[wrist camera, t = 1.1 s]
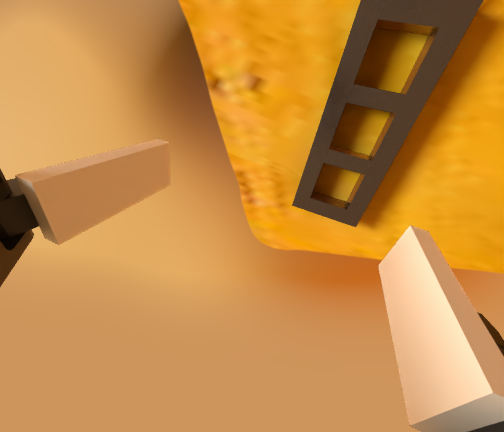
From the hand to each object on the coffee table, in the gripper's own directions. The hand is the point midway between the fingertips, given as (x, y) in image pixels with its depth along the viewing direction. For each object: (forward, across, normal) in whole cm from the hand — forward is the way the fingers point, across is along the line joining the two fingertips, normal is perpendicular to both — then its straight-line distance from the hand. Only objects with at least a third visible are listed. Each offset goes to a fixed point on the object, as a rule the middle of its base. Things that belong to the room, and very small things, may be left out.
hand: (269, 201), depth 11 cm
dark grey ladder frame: (+24, +5, +2) cm, 24 cm away
